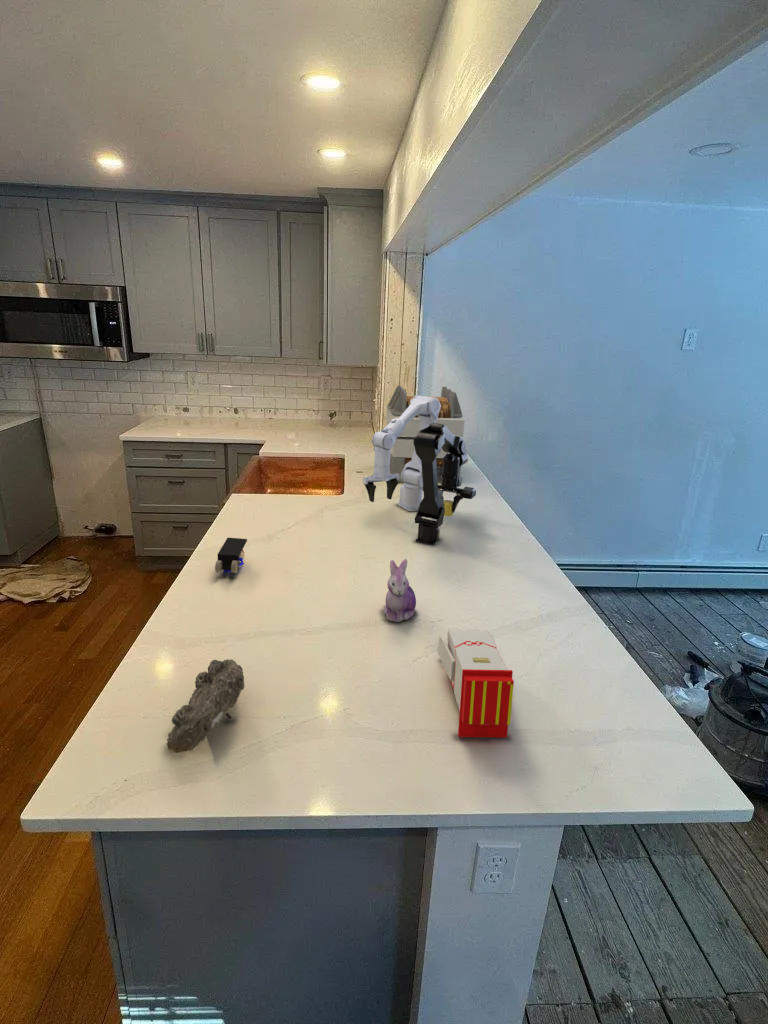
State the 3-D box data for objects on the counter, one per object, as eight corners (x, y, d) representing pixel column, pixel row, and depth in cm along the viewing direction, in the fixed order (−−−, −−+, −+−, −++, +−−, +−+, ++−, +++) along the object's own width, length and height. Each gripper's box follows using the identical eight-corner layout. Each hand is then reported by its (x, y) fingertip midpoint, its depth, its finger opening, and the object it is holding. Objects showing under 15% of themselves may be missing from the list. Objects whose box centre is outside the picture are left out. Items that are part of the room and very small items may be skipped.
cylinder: (451, 512, 212) (452, 499, 210) (454, 516, 208) (455, 503, 206) (440, 512, 211) (441, 499, 210) (442, 516, 207) (443, 503, 206)
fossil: (192, 660, 117) (244, 628, 112) (224, 691, 120) (276, 661, 115) (142, 746, 98) (202, 712, 93) (182, 779, 101) (242, 748, 96)
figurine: (392, 627, 141) (395, 572, 136) (374, 608, 149) (376, 556, 144) (425, 619, 145) (429, 566, 140) (405, 601, 154) (408, 550, 149)
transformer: (382, 463, 289) (386, 382, 275) (445, 464, 293) (451, 384, 279) (390, 482, 257) (394, 392, 243) (460, 483, 261) (468, 394, 247)
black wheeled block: (238, 584, 162) (249, 557, 175) (236, 562, 158) (247, 536, 172) (215, 584, 161) (227, 556, 175) (212, 561, 158) (225, 535, 171)
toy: (488, 613, 130) (523, 677, 101) (484, 667, 133) (517, 744, 104) (435, 612, 130) (455, 676, 101) (432, 666, 133) (451, 743, 103)
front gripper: (481, 469, 207) (477, 509, 213) (433, 462, 214) (430, 501, 220) (473, 476, 198) (469, 518, 203) (423, 468, 205) (420, 509, 210)
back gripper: (370, 469, 200) (368, 505, 205) (404, 465, 207) (402, 500, 212) (360, 464, 206) (359, 500, 210) (394, 460, 213) (392, 495, 217)
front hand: (447, 511), depth 209 cm, fingers closed on cylinder, 4 cm apart
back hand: (380, 499), depth 211 cm, fingers open, 7 cm apart
